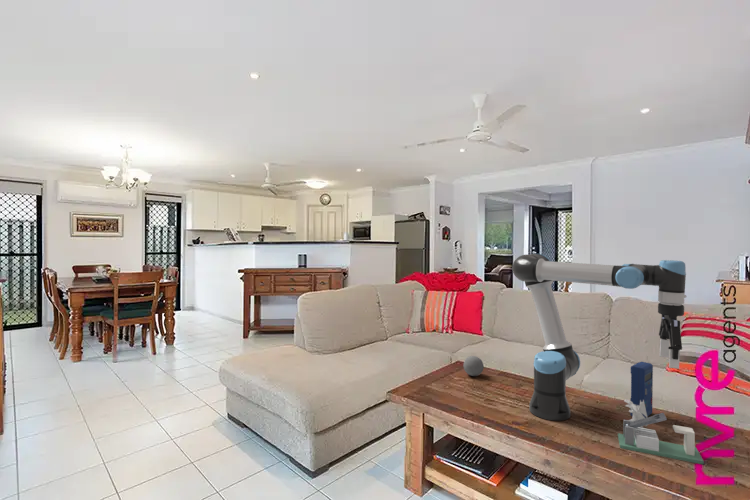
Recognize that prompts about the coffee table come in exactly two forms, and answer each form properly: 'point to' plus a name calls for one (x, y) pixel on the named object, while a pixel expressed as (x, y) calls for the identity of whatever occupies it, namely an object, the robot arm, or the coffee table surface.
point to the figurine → (636, 410)
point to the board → (653, 444)
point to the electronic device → (642, 385)
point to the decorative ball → (473, 366)
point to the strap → (646, 421)
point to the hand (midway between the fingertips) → (668, 362)
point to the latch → (687, 438)
